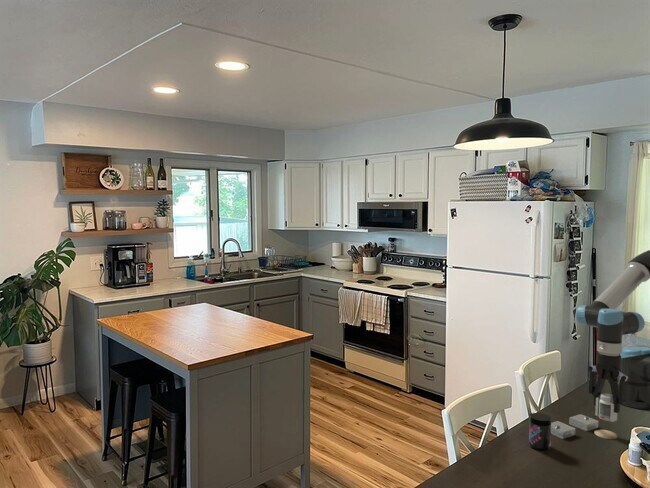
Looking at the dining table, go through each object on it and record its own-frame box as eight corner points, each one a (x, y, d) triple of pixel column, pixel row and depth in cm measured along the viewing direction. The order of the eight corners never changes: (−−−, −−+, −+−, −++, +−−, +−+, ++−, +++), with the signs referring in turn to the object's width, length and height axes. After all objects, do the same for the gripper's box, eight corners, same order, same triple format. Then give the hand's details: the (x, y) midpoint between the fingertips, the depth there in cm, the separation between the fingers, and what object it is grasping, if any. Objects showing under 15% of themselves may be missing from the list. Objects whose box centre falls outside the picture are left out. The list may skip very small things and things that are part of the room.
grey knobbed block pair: (580, 420, 188) (580, 413, 187) (598, 427, 181) (598, 420, 181) (545, 431, 178) (545, 423, 178) (562, 439, 172) (563, 431, 172)
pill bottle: (616, 421, 172) (617, 398, 172) (601, 420, 173) (602, 397, 173) (611, 416, 177) (612, 393, 176) (596, 415, 178) (597, 392, 177)
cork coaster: (602, 429, 180) (602, 428, 180) (621, 436, 174) (621, 435, 174) (590, 433, 177) (590, 432, 177) (609, 441, 171) (609, 439, 171)
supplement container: (528, 440, 171) (529, 411, 170) (550, 444, 168) (551, 414, 168) (528, 449, 164) (529, 418, 164) (550, 453, 162) (552, 422, 161)
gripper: (578, 348, 180) (576, 410, 181) (628, 361, 164) (625, 429, 165) (591, 345, 183) (588, 407, 185) (641, 358, 168) (638, 425, 169)
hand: (606, 417), depth 175 cm, fingers closed on pill bottle, 5 cm apart
